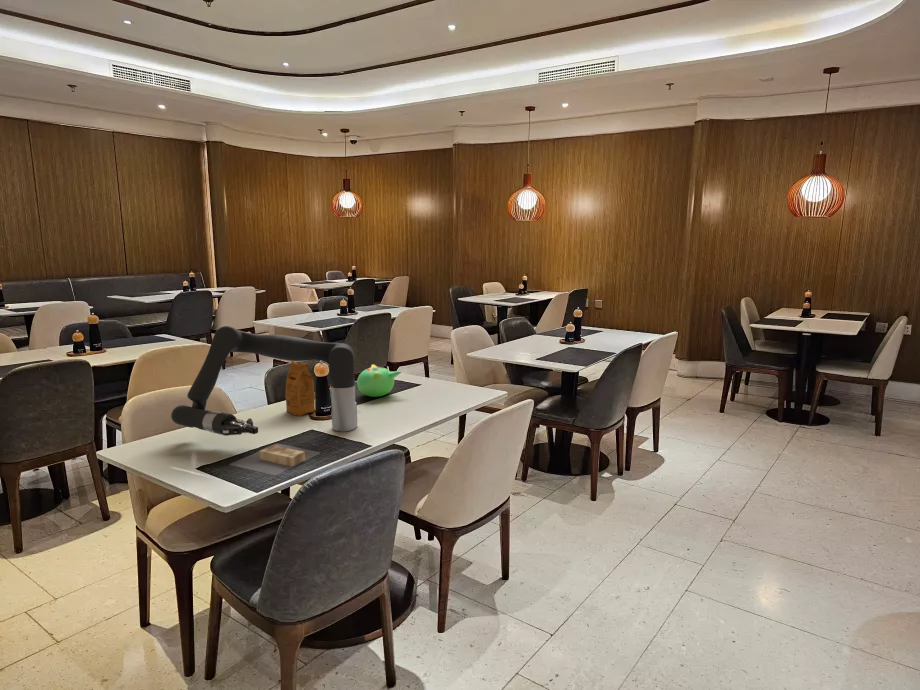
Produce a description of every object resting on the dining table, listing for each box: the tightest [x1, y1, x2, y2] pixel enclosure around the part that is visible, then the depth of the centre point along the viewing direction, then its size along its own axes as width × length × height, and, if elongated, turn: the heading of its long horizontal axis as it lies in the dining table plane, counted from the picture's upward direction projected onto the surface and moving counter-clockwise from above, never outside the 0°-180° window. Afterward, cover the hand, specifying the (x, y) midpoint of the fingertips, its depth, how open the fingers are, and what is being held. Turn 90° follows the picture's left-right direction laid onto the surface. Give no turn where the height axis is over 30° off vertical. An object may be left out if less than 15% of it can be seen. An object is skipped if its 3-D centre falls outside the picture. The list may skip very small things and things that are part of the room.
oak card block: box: [259, 444, 305, 467], centre depth 192 cm, size 6×3×14 cm
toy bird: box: [356, 364, 402, 398], centre depth 271 cm, size 18×17×15 cm
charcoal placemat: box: [228, 443, 322, 476], centre depth 193 cm, size 22×20×1 cm
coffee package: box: [285, 361, 316, 417], centre depth 245 cm, size 10×12×22 cm
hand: (256, 430), depth 195 cm, fingers closed
